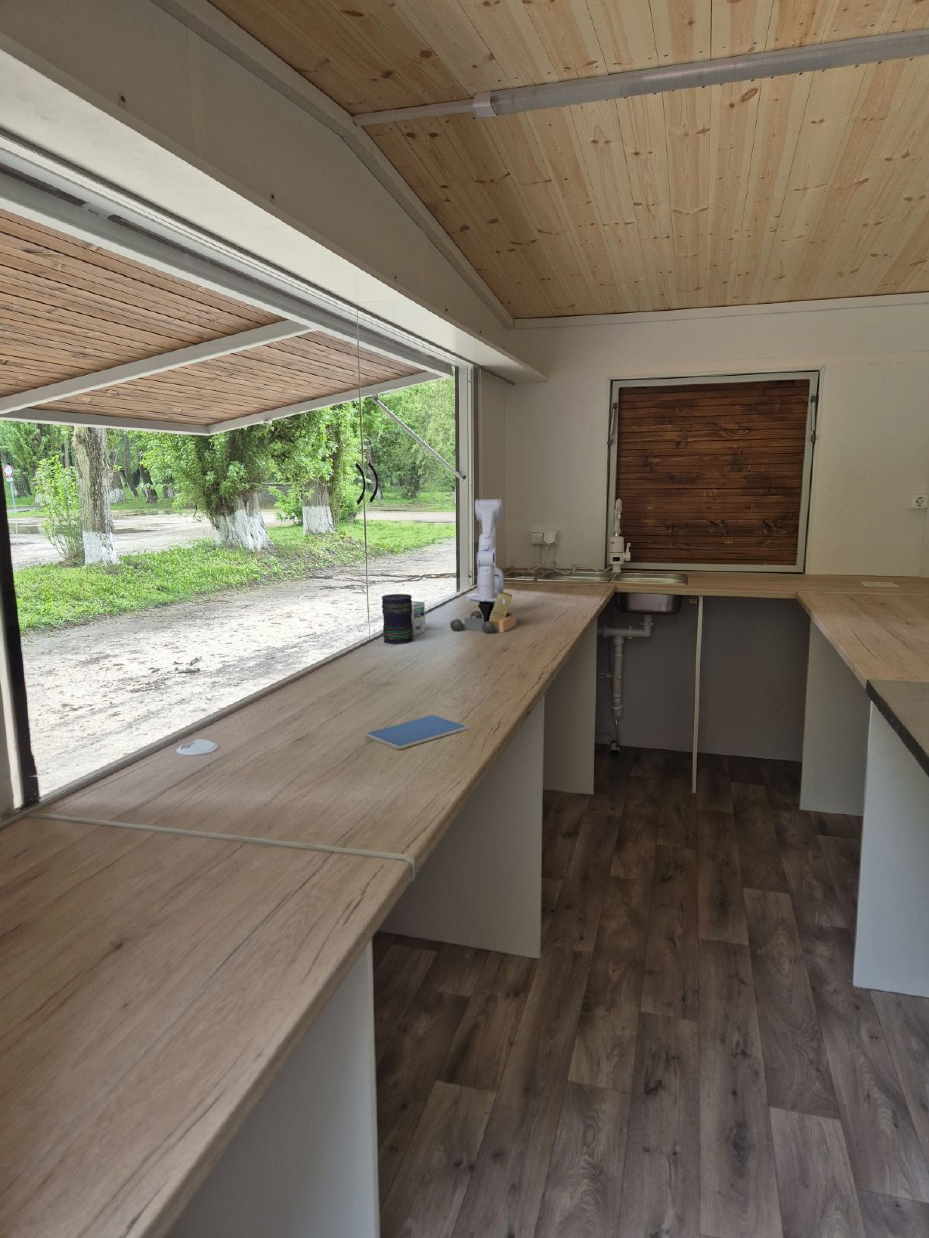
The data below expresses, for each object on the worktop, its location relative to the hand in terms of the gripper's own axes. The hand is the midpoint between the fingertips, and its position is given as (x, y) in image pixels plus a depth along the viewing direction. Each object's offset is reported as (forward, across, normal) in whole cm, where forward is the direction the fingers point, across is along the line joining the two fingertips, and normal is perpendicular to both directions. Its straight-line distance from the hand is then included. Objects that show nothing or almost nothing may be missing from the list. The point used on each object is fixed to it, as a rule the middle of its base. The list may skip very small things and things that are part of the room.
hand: (487, 623), depth 289 cm
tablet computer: (+1, +32, -111) cm, 115 cm away
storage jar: (+2, -19, -30) cm, 36 cm away
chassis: (+2, -1, 0) cm, 2 cm away
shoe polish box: (+1, +3, 0) cm, 3 cm away
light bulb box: (+2, -23, -16) cm, 28 cm away
